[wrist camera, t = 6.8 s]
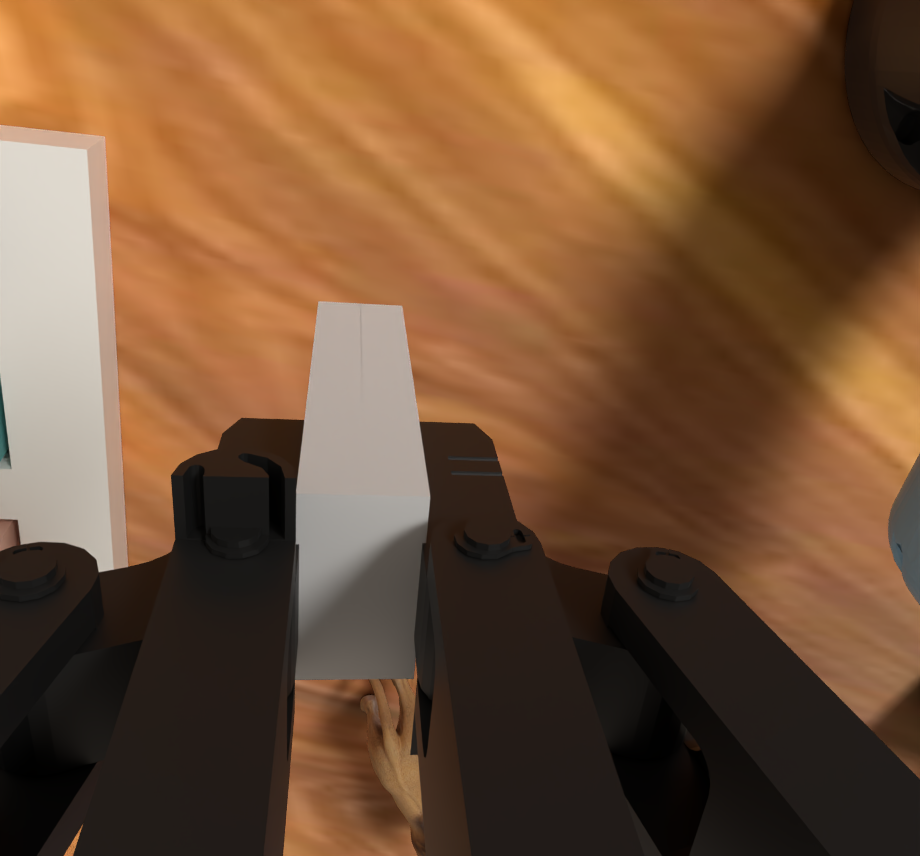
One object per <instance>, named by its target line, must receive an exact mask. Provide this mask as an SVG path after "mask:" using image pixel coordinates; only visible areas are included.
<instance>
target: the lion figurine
mask: <svg viewBox="0 0 920 856" xmlns="http://www.w3.org/2000/svg"><path fill="white" fill-rule="evenodd" d="M391 680H392V682H393V684H394V686H395V687H396V689H397V692H398V695H399V705H400V715H399V721H398V726H397V728H396V730H395V729H394V726H393V722H392V718H391V714H390V710H389V706H388V703H387V699H386V696H385V693H384V690H383V687H382V684H381V682H380V680H379V679H369V681H370V683H371V686H372V688H373V691H374V694H375V696H374V695H367V696H364V697H363V698H362V699H361V702H360V708H361V710H362V711H363V712H365V713H366V714H367V723H368V730H367V732H368V740H367V747H368V752H369V756H370V760H371V763H372V767H373V769H374V771H375V773H376V775H377V776H378V778H379V780H380V782H381V784H382V785H383V787H384V788H385V789H386V790H387V791H388V792H390V793H391V794H392V797H393V799H394V801H395V803H396V805H397V807H398V808H399V809H400V811H401V812H402V813H403V815H404V817H405V818H406V820H407V821H408V823H409V824H410V828H411V840H412V844H413V846H414V849H415V850H416V853H417V855H418V856H426V851H425V838H424V826H423V813H422V800H421V787H420V775H419V762H418V755H410V751H411V741H412V730H413V720H414V709H415V698H416V697H415V695H414V693H413V691H412V689H411V687H410V685H409V683H408V681H407V679H391ZM378 710H379V714H378ZM379 715H380V718H379Z"/></svg>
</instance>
